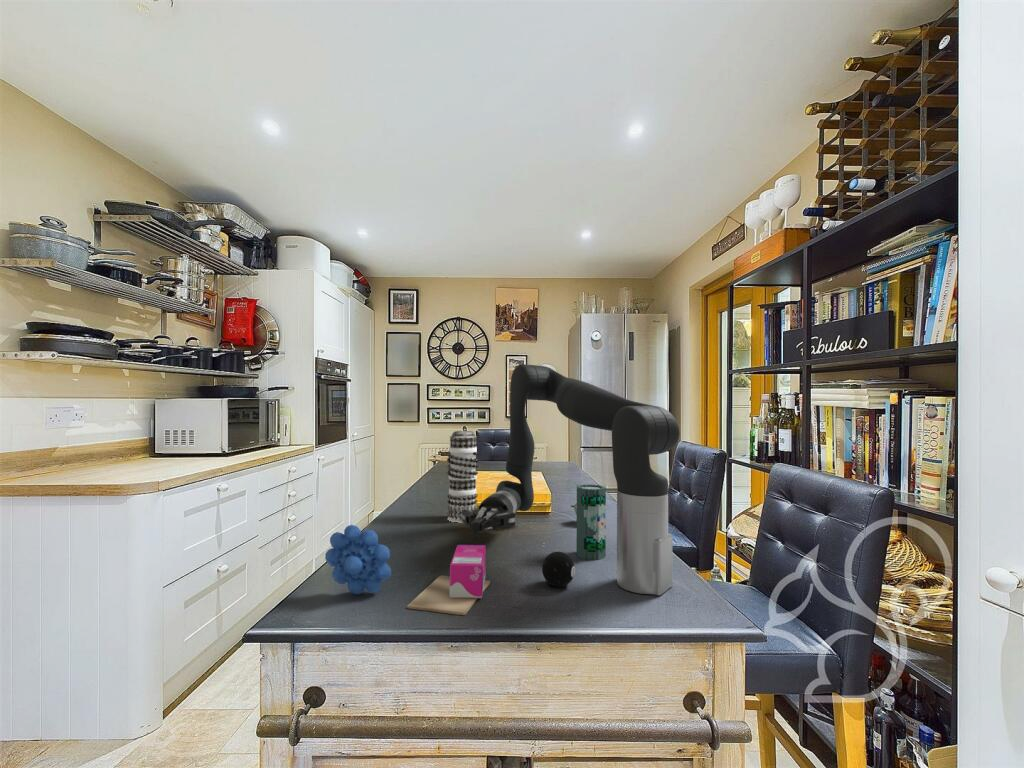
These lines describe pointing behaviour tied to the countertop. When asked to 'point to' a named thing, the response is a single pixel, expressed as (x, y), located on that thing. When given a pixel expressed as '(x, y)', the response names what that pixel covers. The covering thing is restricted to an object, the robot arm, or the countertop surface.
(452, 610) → the brown paper envelope
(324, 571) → the countertop surface
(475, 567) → the supplement box
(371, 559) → the blue knobbed wheel
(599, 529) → the can
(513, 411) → the robot arm
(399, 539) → the countertop surface
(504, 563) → the countertop surface
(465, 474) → the grey white cylinder
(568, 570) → the billiard ball
